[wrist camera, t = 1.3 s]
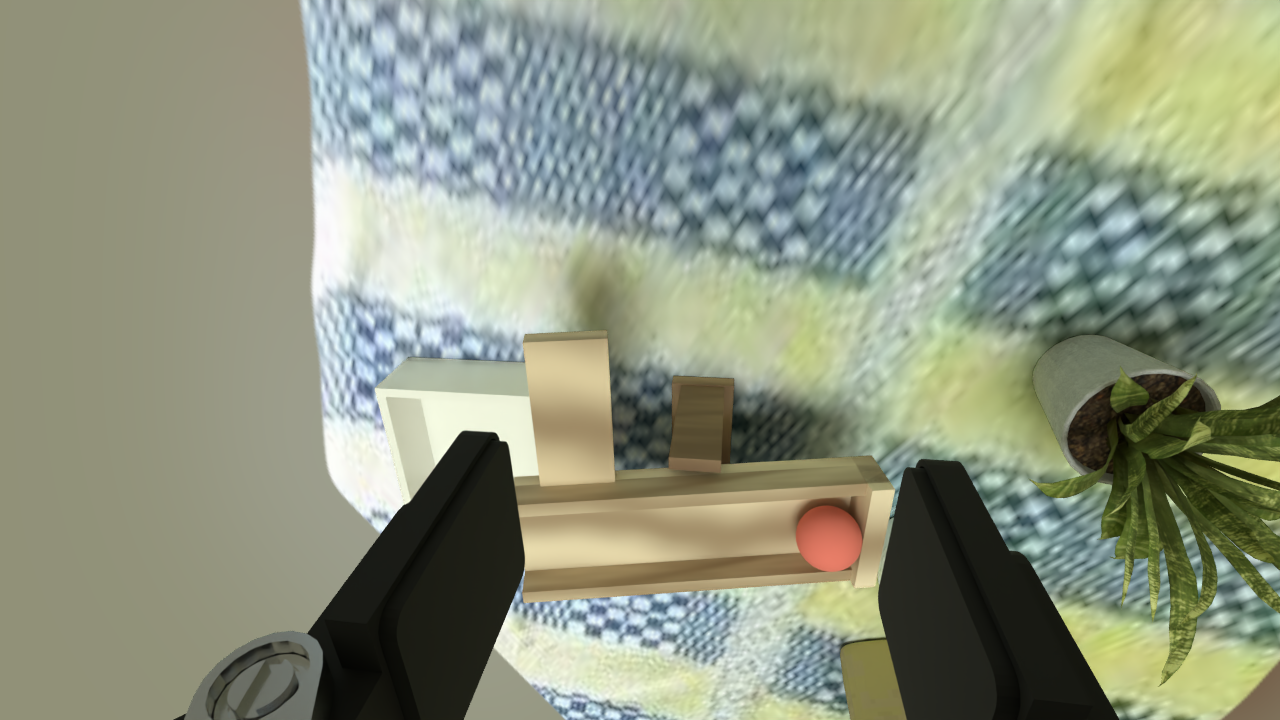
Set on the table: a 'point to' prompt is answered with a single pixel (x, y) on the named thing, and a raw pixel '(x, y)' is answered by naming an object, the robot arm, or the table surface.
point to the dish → (454, 413)
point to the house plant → (1163, 469)
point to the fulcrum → (701, 423)
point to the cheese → (871, 682)
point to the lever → (666, 500)
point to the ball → (829, 538)
